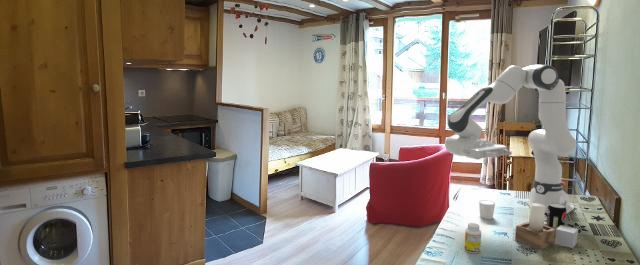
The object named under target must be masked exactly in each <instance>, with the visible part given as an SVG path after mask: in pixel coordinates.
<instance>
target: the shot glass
mask: <svg viewBox="0 0 640 265" xmlns="http://www.w3.org/2000/svg"><path fill="white" fill-rule="evenodd" d="M478 203H479V217H480V218H482V219H484V220H485V219H486V220H490V219H491V220H492V219H493V218H494V213H495V207H496V203H495V202H494V201H491V200H487V199H486V200H482V199H481V200H479V202H478Z"/></svg>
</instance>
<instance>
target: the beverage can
mask: <svg viewBox="0 0 640 265" xmlns="http://www.w3.org/2000/svg"><path fill="white" fill-rule="evenodd" d="M566 211H567V210H566V206H565V205H562V204H558V203H550V204H549V206H548V213H546V214H547V216H546V224H545V226H548V227H551V228H554V229H557V228H558V227H559V226H560V225H563V226H566V220H567V214H566Z"/></svg>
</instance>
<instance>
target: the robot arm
mask: <svg viewBox="0 0 640 265" xmlns="http://www.w3.org/2000/svg"><path fill="white" fill-rule="evenodd" d="M521 88H525V89H536V90H537V92H538V95H539V97H538V119H539V121H540V122H541V124H542V126H543V128H541V129H540V128H539V129H535V130H532V131H531V132H530V133H529V134H528V137H527V141H528V145H529V146H530V148H531V149H532V152H533V156H534V161H535V162H534V163H535V173H534V174H535V175H534V176H535V177H534V179H533V183H532V184H533V188H531V190H530V192H529V194H530V196H529V200H528V201H526V205H527V206H528V208H530V204H531V203H538V204H542V205H545V214H547V213H548V206H549V204H550V203H558V204H562V205H565V206H566V210H567V211H566V215H567V214H569V213H571V212H572V211H573V210H575V209H574V208H576V206H574V205H573V204H570V203H571V202H570V195H568V193H566V192H565V191H564V190H563V189H564V187H566V185H567V183H566V182H565V181H562V176H563V175H562V174H563V165H562V164H561V162H560V161H559V159H558V157H567V156H570V155H572V154H574V153H575V151H576V150H577V140H576V139H575V137H573V135H572V134H571V132H570V129H569V126H568V122H567V117H566V116H567V111H566V110H567V106H566V105H567V97H566V96H567V93H566V86H565V82H564V81H563V80H562V79H560V78H559V74H558V71H557V69H556V68H555V66H552V65H550V64H544V63H543V64H541V63H540V64H539V63H538V64H531V65H526V66H525V65H524V66H522V67H521V66H519V65H510V66H508V67H506V69H505V70H504V71H502V72H501V73H500V74H499V75H497V78H496V79H495V80H494V81H493V82H492V83H491V84H489V85H488V86H487V85H486V86H483V87H481V88H480V89H479V90H478V91H477V92H475V93H474V94H473V95H472V96H471V97H470V98H469V99H468V100H466V102H465V103H464V104H463V105H461V106H460V107H459V108H458V109H456V110H455V111H453V113H451V114H450V116H449V117H448V121H447V126H448V128H449V129H450V130H451V131H452V132H454V134H453V135H451V136H447V138H445V140H444V141H445V143H444V146H445V149H446V151H447V152H448V153H450V154H452V155H455V156H459V157H465V158H469V159H473V160H481V159H488V158H493V159H494V158H498V157H500V156H512V154H513V152H512V151H511V150H508V149H509V148H508V146H507V145H504V144H499V143H494V142H492V141H491V140H490V141H489V140H481V137H482V134H483V129H482V127H481V125H479V123H477V122H476V121H475V120H474V119H473V118H472V115H473V114H474V113H475V112H476V111H477V110H478V109H479V108H480V107H481V106H482V105H483V104H485V103H492V104H496V105H504V104H507V103H508V102H510V101H511V100H512V99H513V98H514V97H515V95H516V94H517V93H518V92H519V91H520V89H521Z"/></svg>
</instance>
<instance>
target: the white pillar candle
mask: <svg viewBox="0 0 640 265" xmlns="http://www.w3.org/2000/svg"><path fill="white" fill-rule="evenodd" d="M545 214H546V213H545V205H542V204H538V203H531V204H530V207H529V218H528V222H529V229H530V230H533V231H536V232H543V226H544V225H545V224H544V223H545Z"/></svg>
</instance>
